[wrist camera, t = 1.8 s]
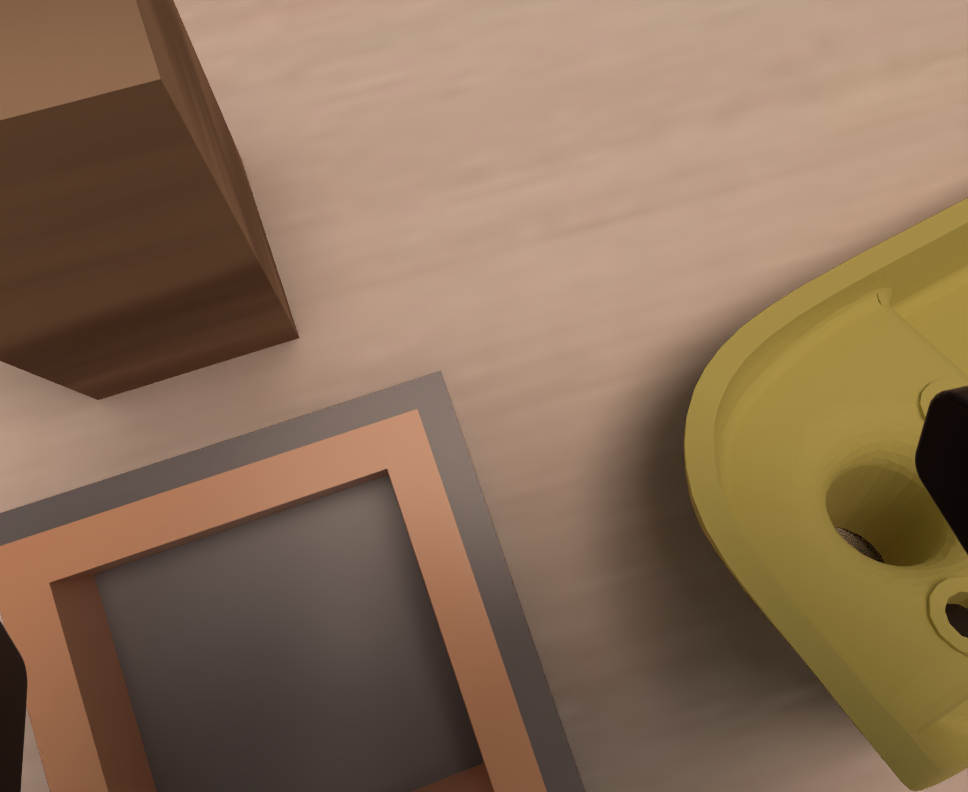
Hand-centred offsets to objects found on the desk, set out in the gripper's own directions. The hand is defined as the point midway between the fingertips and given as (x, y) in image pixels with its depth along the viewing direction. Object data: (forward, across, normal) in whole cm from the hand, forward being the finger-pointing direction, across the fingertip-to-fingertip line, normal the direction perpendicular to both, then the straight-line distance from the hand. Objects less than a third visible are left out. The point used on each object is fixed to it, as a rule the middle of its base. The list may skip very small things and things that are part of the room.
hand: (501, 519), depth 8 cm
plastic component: (+9, -15, +9) cm, 20 cm away
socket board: (+8, +4, +11) cm, 14 cm away
